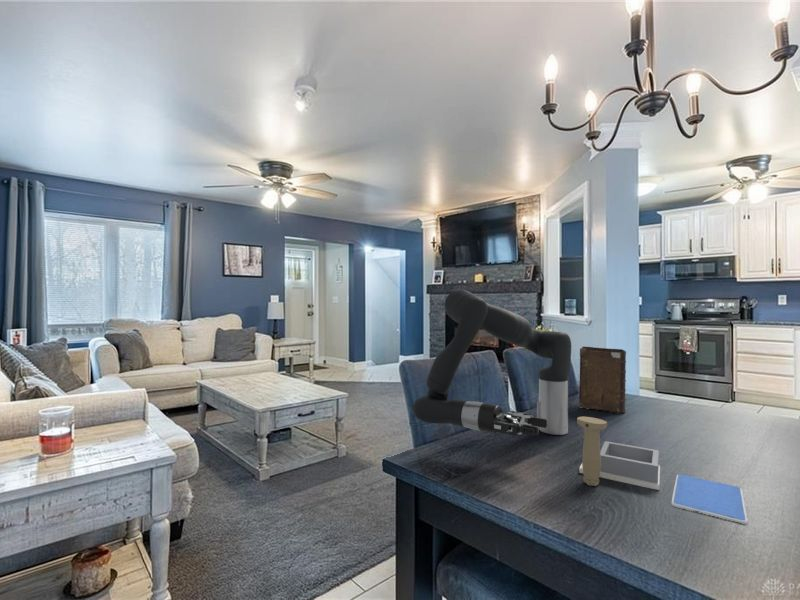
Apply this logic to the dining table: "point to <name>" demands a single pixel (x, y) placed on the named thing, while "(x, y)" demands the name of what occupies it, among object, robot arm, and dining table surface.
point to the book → (602, 379)
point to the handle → (591, 448)
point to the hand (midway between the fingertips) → (542, 427)
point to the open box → (630, 465)
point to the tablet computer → (709, 498)
